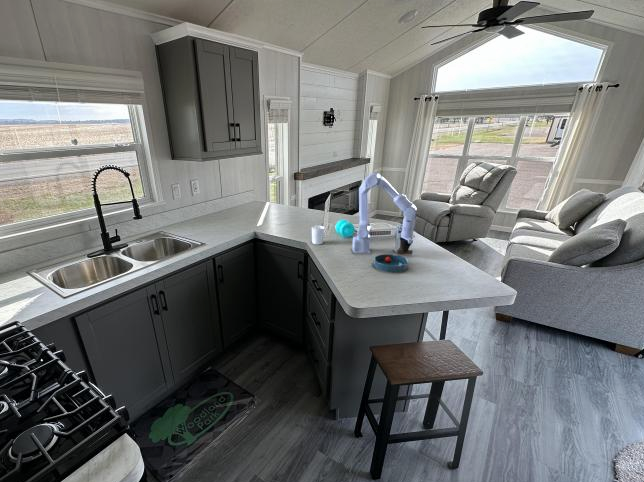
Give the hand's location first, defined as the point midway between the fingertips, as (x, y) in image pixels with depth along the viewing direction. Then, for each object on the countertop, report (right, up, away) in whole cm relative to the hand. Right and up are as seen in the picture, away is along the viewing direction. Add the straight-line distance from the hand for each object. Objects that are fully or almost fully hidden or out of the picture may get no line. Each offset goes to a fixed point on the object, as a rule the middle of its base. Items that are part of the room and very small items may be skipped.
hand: (404, 251), depth 179 cm
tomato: (-12, -6, -7) cm, 15 cm away
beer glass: (+1, +1, +8) cm, 8 cm away
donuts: (-25, +17, +35) cm, 46 cm away
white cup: (-44, +7, +26) cm, 52 cm away
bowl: (-12, -8, -11) cm, 18 cm away
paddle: (0, -1, +1) cm, 2 cm away
